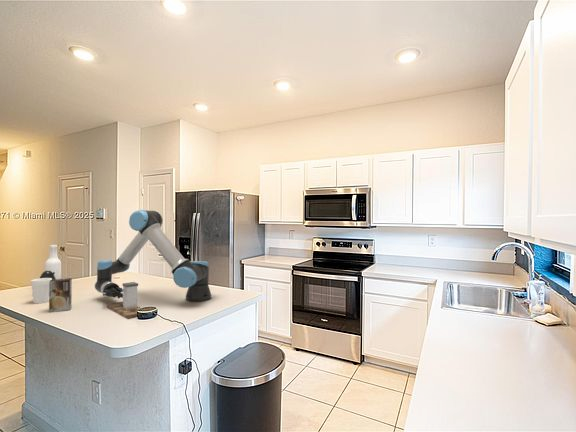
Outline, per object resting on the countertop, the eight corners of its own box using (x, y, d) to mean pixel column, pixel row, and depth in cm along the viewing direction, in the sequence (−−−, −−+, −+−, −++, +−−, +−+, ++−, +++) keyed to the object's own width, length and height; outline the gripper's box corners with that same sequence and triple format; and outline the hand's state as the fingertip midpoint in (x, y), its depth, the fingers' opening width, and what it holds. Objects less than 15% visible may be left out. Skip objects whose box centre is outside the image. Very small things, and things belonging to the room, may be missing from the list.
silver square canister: (122, 308, 158) (122, 283, 158) (133, 306, 162) (133, 281, 163) (126, 311, 155) (126, 285, 155) (137, 308, 159) (138, 283, 159)
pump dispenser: (45, 297, 186) (46, 272, 186) (32, 296, 188) (32, 271, 188) (61, 293, 196) (61, 269, 196) (48, 292, 198) (48, 268, 198)
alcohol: (53, 290, 201) (54, 245, 201) (40, 290, 201) (41, 245, 202) (64, 287, 210) (64, 244, 210) (51, 287, 210) (52, 244, 210)
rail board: (106, 307, 166) (106, 304, 166) (126, 303, 174) (126, 300, 174) (127, 319, 148) (128, 315, 148) (148, 314, 156) (148, 311, 156)
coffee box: (72, 307, 166) (72, 277, 166) (70, 310, 161) (70, 279, 161) (51, 309, 162) (51, 279, 162) (48, 312, 156) (48, 281, 156)
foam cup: (26, 303, 172) (27, 280, 173) (44, 299, 181) (45, 277, 181) (37, 305, 169) (37, 281, 169) (55, 301, 177) (55, 278, 178)
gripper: (122, 293, 180) (139, 301, 165) (97, 297, 170) (113, 306, 155) (122, 281, 180) (139, 287, 165) (97, 284, 171) (113, 291, 155)
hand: (126, 296), depth 160 cm, fingers closed
